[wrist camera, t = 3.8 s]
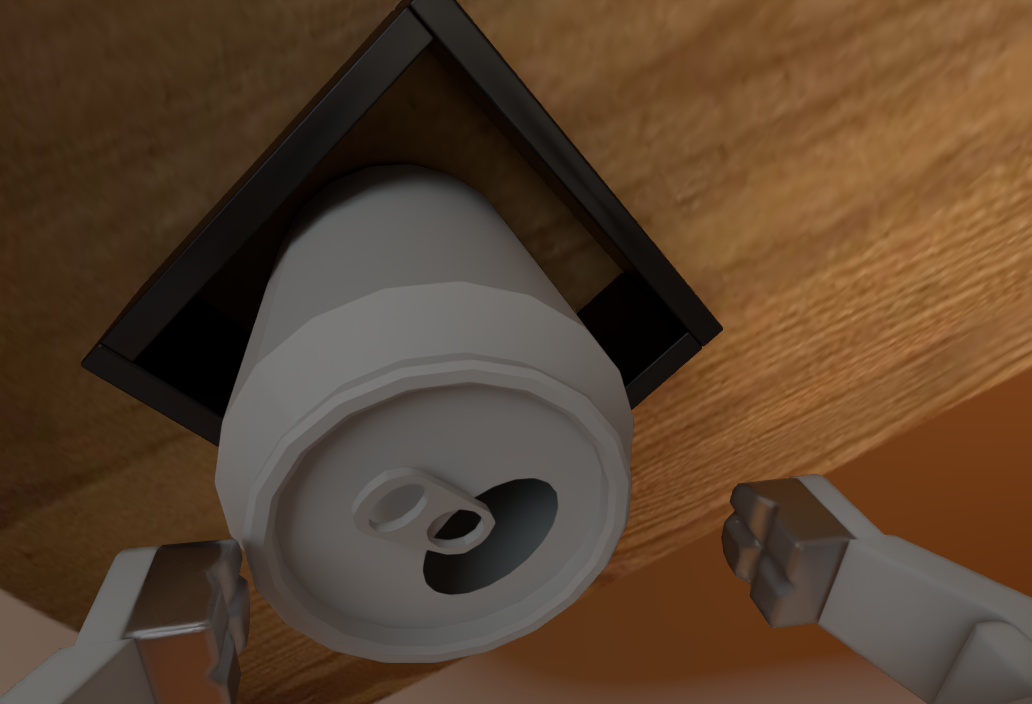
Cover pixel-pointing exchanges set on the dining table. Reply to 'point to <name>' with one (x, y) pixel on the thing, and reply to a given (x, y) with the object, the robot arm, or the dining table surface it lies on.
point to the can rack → (303, 145)
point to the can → (420, 428)
